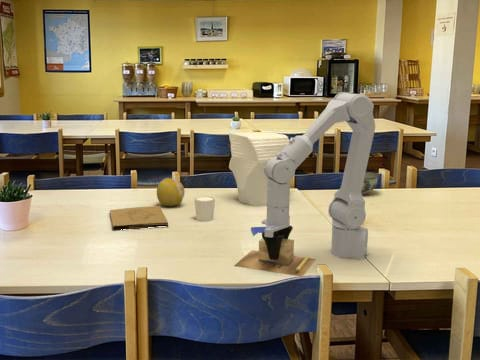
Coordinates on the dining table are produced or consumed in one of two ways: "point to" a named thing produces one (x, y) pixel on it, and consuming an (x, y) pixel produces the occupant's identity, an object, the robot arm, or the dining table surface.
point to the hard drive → (257, 230)
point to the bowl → (369, 182)
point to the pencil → (302, 264)
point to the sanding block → (284, 255)
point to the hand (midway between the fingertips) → (276, 256)
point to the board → (253, 263)
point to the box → (137, 218)
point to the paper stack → (253, 162)
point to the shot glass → (204, 208)
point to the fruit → (170, 192)
